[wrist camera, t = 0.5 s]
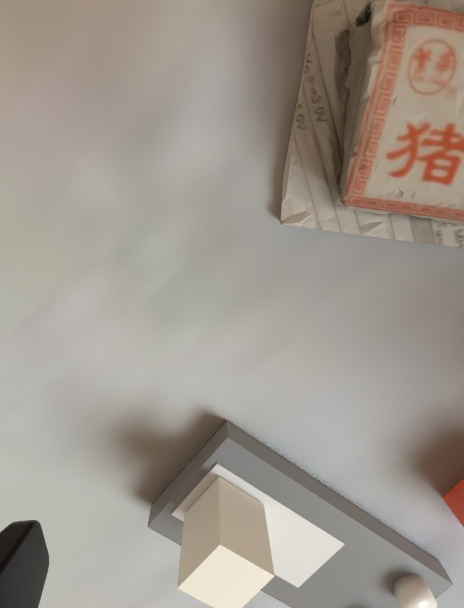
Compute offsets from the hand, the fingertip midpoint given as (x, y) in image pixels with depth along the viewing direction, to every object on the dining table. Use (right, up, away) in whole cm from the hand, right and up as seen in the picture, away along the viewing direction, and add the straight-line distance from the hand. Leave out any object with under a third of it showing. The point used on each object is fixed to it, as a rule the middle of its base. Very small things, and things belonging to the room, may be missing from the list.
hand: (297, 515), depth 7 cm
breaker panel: (+3, -10, +17) cm, 20 cm away
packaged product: (+10, +11, +11) cm, 19 cm away
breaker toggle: (-2, -7, +14) cm, 16 cm away
